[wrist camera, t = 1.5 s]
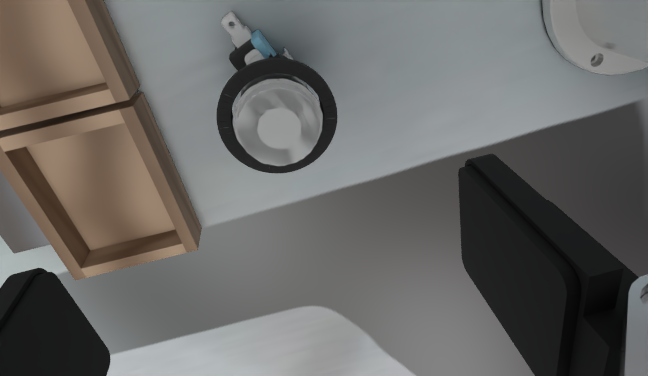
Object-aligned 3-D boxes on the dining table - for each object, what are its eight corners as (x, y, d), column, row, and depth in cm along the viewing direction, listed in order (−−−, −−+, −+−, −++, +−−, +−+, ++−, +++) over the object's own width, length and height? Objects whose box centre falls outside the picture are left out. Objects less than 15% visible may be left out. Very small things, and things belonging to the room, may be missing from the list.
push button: (192, 40, 26) (163, 92, 17) (264, -17, 25) (270, 7, 16) (263, 124, 29) (268, 203, 20) (329, 76, 28) (363, 138, 19)
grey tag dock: (142, 92, 27) (132, 106, 24) (201, 227, 32) (197, 249, 30) (-56, 139, 26) (-84, 158, 24) (38, 268, 32) (21, 293, 29)
